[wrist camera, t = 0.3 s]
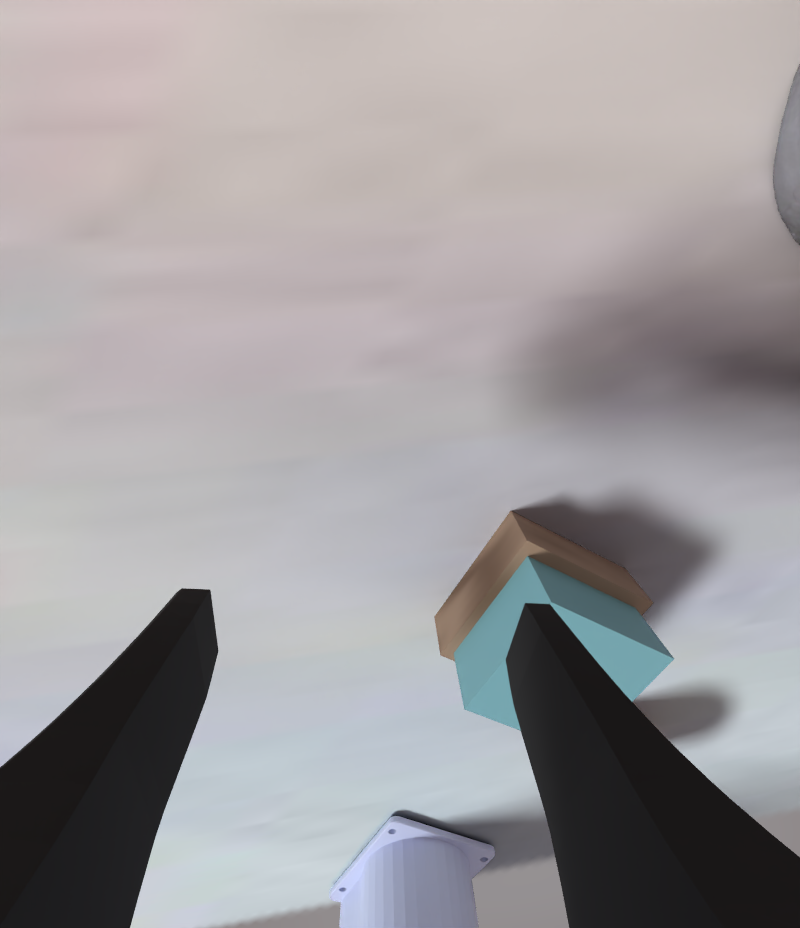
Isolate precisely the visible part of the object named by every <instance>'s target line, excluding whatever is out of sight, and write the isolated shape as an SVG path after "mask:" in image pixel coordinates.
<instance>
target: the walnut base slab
mask: <svg viewBox="0 0 800 928" xmlns="http://www.w3.org/2000/svg"><path fill="white" fill-rule="evenodd" d="M527 556H529V557H531V558H533V559H535V560H537V561H539V562H541V563H543V564H545V565H547V566H549V567H552V568H554V569H556V570H558V571H560V572H562V573H564V574H566V575H568V576H570V577H572V578H574V579H576V580H579V581H581V582H583V583H585V584H587V585H589V586H591V587H593V588H595V589H597V590H599V591H601V592H603V593H605V594H608V595H610V596H612V597H614V598H616V599H618V600H620V601H622V602H624V603H626V604H628V605H630V606H632V607H635V608H636V609H637V611H638V612H639V613H640V614H641V616H642V615H643V614H644V613H645V612H646V611H647V609H648V608H649V607H650V606H651V605H652V604H653V602H652V601H651V599H650V598H649V597H648V596H647V595H646V593H645V592H644V591H643V590H642V589H641V587H640V586H639V585H638V584H637V582H636V581H635V580H634V579H633V578H632V576H631V575H630V574H629V573H628V572H627V570H626V569H625V568H623V567H621V566H619V565H617V564H615V563H613V562H611V561H609V560H607V559H605V558H603V557H601V556H599V555H597V554H595V553H593V552H591V551H589V550H587V549H585V548H583V547H581V546H579V545H577V544H575V543H573V542H571V541H569V540H567V539H565V538H563V537H562V536H560V535H558V534H556V533H554V532H552V531H550V530H548V529H546V528H544V527H542V526H540V525H538V524H536V523H534V522H532V521H530V520H528V519H526V518H524V517H522V516H520V515H518V514H516V513H514V512H512V511H510V513H509V514H508V515H507V517H506V518H505V519H504V521H503V522H502V524H501V525H500V526H499V528H498V529H497V531H496V532H495V533H494V535H493V536H492V538H491V539H490V540H489V542H488V543H487V544H486V546H485V547H484V549H483V550H482V551H481V553H480V554H479V556H478V557H477V558H476V560H475V561H474V563H473V564H472V565H471V567H470V568H469V570H468V571H467V572H466V574H465V575H464V576H463V578H462V579H461V581H460V582H459V583H458V585H457V586H456V588H455V589H454V590H453V592H452V593H451V595H450V596H449V597H448V599H447V600H446V602H445V603H444V604H443V606H442V607H441V608H440V610H439V611H438V613H437V614H436V615H435V623H436V629H437V636H438V642H439V649H440V655H441V656H444V657H446V658H448V659H451V660H453V661H455V658H454V652H455V651H456V649H457V648H458V647H459V645H460V644H461V643H462V642H463V640H464V639H465V638H466V636H467V635H468V634H469V632H470V631H471V630H472V628H473V627H474V626H475V624H476V623H477V622H478V620H479V619H480V618H481V616H482V615H483V614H484V612H485V611H486V610H487V608H488V607H489V606H490V605H491V603H492V602H493V601H494V599H495V598H496V597H497V595H498V594H499V593H500V591H501V590H502V589H503V587H504V586H505V585H506V583H507V582H508V581H509V579H510V578H511V577H512V575H513V574H514V573H515V571H516V570H517V569H518V568H519V566H520V565H521V564H522V562H523V561H524V560H525V558H526V557H527Z"/></svg>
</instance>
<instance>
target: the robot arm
mask: <svg viewBox="0 0 800 928" xmlns="http://www.w3.org/2000/svg"><path fill="white" fill-rule="evenodd" d="M217 654H218V645H217V637H216V630H215V622H214V615H213V607H212V599H211V592H210V590H205V589H181V590H179V591H178V592H177V593H176V594H175V595H174V596H173V597H172V599H171V600H170V601H169V602H168V603H167V604H166V605H165V607H164V608H163V609H162V610H161V611H160V612H159V613H158V615H157V616H156V617H155V618H154V619H153V620H152V621H151V622H150V623H149V625H148V626H147V627H146V628H145V629H144V630H143V631H142V632H141V633H140V634H139V636H138V637H137V638H136V639H135V640H134V641H133V642H132V643H131V644H130V645H129V646H128V647H127V648H126V649H125V650H124V652H123V653H122V654H121V655H120V656H119V657H118V658H117V659H116V660H115V661H114V662H113V663H112V664H111V665H110V666H109V667H108V668H107V669H106V670H105V671H104V672H103V673H102V674H101V675H100V676H99V677H98V678H97V679H96V680H95V681H94V682H93V683H92V684H91V685H90V686H89V687H88V688H87V689H86V690H85V691H84V692H83V693H82V694H81V695H80V696H79V697H78V698H77V699H76V700H75V701H74V702H73V703H72V704H71V705H70V706H68V707H67V708H66V709H65V710H64V711H63V712H62V713H61V714H60V715H59V716H58V717H57V718H56V719H55V720H54V721H53V722H52V723H50V724H49V725H48V726H47V727H46V728H45V729H44V730H43V731H42V732H41V733H39V734H38V735H37V736H36V737H35V738H34V739H33V740H32V741H30V742H29V743H28V744H27V745H26V746H25V747H24V748H22V749H21V750H20V751H19V752H18V753H17V754H15V755H14V756H13V757H12V758H11V759H10V760H8V761H7V762H6V763H5V764H4V765H3V766H1V767H0V928H130V925H131V922H132V918H133V914H134V911H135V907H136V903H137V899H138V896H139V892H140V889H141V885H142V882H143V878H144V875H145V871H146V868H147V864H148V861H149V857H150V854H151V850H152V847H153V843H154V840H155V836H156V833H157V830H158V827H159V824H160V821H161V819H162V816H163V813H164V810H165V807H166V804H167V802H168V799H169V796H170V794H171V791H172V788H173V786H174V783H175V780H176V778H177V775H178V772H179V770H180V767H181V764H182V762H183V759H184V756H185V754H186V751H187V748H188V746H189V743H190V741H191V738H192V735H193V733H194V730H195V727H196V724H197V722H198V719H199V716H200V714H201V711H202V708H203V705H204V703H205V700H206V697H207V693H208V689H209V686H210V682H211V678H212V674H213V670H214V666H215V662H216V658H217ZM506 665H507V671H508V677H509V684H510V689H511V694H512V700H513V705H514V708H515V712H516V715H517V719H518V722H519V726H520V729H521V733H522V736H523V739H524V743H525V746H526V749H527V753H528V756H529V760H530V763H531V766H532V770H533V773H534V776H535V780H536V783H537V786H538V790H539V793H540V797H541V800H542V803H543V807H544V810H545V814H546V818H547V822H548V826H549V829H550V833H551V838H552V843H553V848H554V852H555V857H556V862H557V867H558V872H559V876H560V881H561V886H562V891H563V896H564V901H565V907H566V912H567V918H568V923H569V928H800V857H799V856H797V855H796V854H795V853H794V852H792V851H791V850H790V849H789V848H788V847H786V846H785V845H784V844H783V843H782V842H780V841H779V840H778V839H777V838H775V837H774V836H773V835H772V834H770V833H769V832H768V831H767V830H766V829H765V828H764V827H762V826H761V825H760V824H759V823H758V822H756V821H755V820H754V819H753V818H752V817H751V816H750V815H748V814H747V813H746V812H745V811H744V810H743V809H741V808H740V807H739V806H738V805H737V804H736V803H734V802H733V801H732V800H731V799H730V798H729V797H728V796H727V795H725V794H724V793H723V792H722V791H721V790H720V789H719V788H718V787H717V786H715V785H714V784H713V783H712V782H711V781H710V780H709V779H708V778H707V777H706V776H705V775H704V774H703V773H702V772H700V771H699V770H698V769H697V768H696V767H695V766H694V765H693V764H692V763H691V762H690V761H689V760H688V759H687V758H686V757H685V756H684V755H683V754H682V753H681V752H679V751H678V750H677V749H676V748H675V747H674V746H673V745H672V744H671V743H670V742H669V741H668V740H667V739H666V738H665V737H664V736H663V734H662V733H661V732H660V731H659V730H658V729H657V728H656V727H655V726H654V725H653V724H652V723H651V722H650V721H649V720H648V719H647V718H646V717H645V715H644V714H643V713H642V712H641V711H640V710H639V709H638V708H637V707H636V706H635V705H634V704H633V703H632V701H631V700H630V699H629V698H628V697H627V696H626V695H625V694H624V693H623V691H622V690H621V689H620V688H619V687H618V686H617V684H616V683H615V682H614V681H613V680H612V679H611V677H610V676H609V675H608V674H607V673H606V672H605V671H604V669H603V668H602V667H601V666H600V665H599V663H598V662H597V661H596V660H595V659H594V657H593V656H592V655H591V654H590V653H589V651H588V650H587V649H586V648H585V647H584V645H583V644H582V643H581V642H580V640H579V639H578V638H577V637H576V636H575V634H574V633H573V632H572V631H571V629H570V628H569V627H568V626H567V624H566V623H565V622H564V621H563V620H562V618H561V617H560V616H559V615H558V613H557V612H556V611H555V610H554V609H553V607H552V606H551V605H550V604H538V603H525V604H524V607H523V610H522V613H521V616H520V619H519V622H518V625H517V627H516V630H515V633H514V636H513V639H512V642H511V645H510V648H509V651H508V654H507V657H506ZM494 856H495V850H494V847H493V846H491V845H489V844H485V843H482V842H479V841H476V840H473V839H470V838H466V837H463V836H460V835H457V834H454V833H451V832H447V831H444V830H441V829H438V828H435V827H432V826H428V825H425V824H422V823H419V822H416V821H412V820H409V819H406V818H403V817H400V816H393V817H391V818H390V819H389V820H388V821H387V822H386V823H385V824H384V826H383V827H382V828H381V829H380V830H379V832H378V833H377V834H376V835H375V836H374V838H373V839H372V840H371V841H370V842H369V844H368V845H367V846H366V847H365V848H364V850H363V851H362V852H361V853H360V854H359V855H358V857H357V858H356V859H355V860H354V861H353V863H352V864H351V865H350V866H349V867H348V869H347V870H346V871H345V872H344V873H343V875H342V876H341V877H340V878H339V879H338V881H337V882H336V883H335V884H334V885H333V887H332V888H331V889H330V891H329V898H330V899H331V900H333V901H337V902H341V911H340V928H479V926H478V919H477V913H476V906H475V899H474V892H473V886H472V878H473V877H474V876H475V875H476V874H477V873H478V872H479V871H480V870H481V869H482V868H483V867H484V866H485V865H486V864H487V863H488V862H489V861H490V860H492V859H493V858H494Z"/></svg>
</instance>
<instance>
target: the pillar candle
mask: <svg viewBox="0 0 800 928" xmlns="http://www.w3.org/2000/svg"><path fill="white" fill-rule="evenodd" d="M773 184H774V190H775V199H776V201H777V205H778V211H779V212H780V215H781V217H782V220H783V221H784V223H785V224H786V226H787V228H789V231H790V233H791V235H792V236H793V238H794V239H795V241H796V242H797V243H798V244H799V245H800V65H799V67H798V70H797V72H796V74H795V77H794V80H793V83H792V86H791V89H790V93H789V97H788V101H787V105H786V108H785V112H784V116H783V119H782V123H781V128H780V133H779V139H778V145H777V150H776V156H775V162H774V172H773Z"/></svg>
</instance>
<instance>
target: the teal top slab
mask: <svg viewBox="0 0 800 928" xmlns="http://www.w3.org/2000/svg"><path fill="white" fill-rule="evenodd" d="M525 603H538V604H550V605H551V606H552V607H553V609H554V610H555V611H556V612H557V613H558V615H559V616H560V617H561V618H562V620H563V621H564V622H565V623H566V624H567V626H568V627H569V628H570V629H571V631H572V632H573V633H574V634H575V636H576V637H577V638H578V639H579V640H580V642H581V643H582V644H583V645H584V647H585V648H586V649H587V650H588V651H589V653H590V654H591V655H592V656H593V657H594V659H595V660H596V661H597V662H598V663H599V665H600V666H601V667H602V668H603V669H604V671H605V672H606V673H607V674H608V675H609V676H610V677H611V679H612V680H613V681H614V682H615V683H616V684H617V686H618V687H619V688H620V689H621V690H622V691H623V693H624V694H625V695H626V696H627V697H628V698H629V699H630V700H631V701H633V700H634V699H635V698H636V697H637V696H638V695H639V694H640V693H641V692H642V691H643V690H644V689H645V688H646V687H647V686H648V685H649V684H650V683H651V682H652V681H653V680H654V679H655V678H656V677H657V676H658V675H659V674H660V673H661V672H662V671H663V670H664V669H665V668H666V667H667V666H668V665H669V664H670V663H671V662H672V661H673V660H674V658H673V657H672V655H671V654H670V653H669V651H668V650H667V649H666V647H665V646H664V645H663V643H662V642H661V641H660V640H659V638H658V637H657V636H656V634H655V633H654V632H653V630H652V629H651V628H650V626H649V625H648V624H647V622H646V621H645V620H644V618H643V617H642V616H641V614H640V613H639V612H638V611H637V609H636V608H635V607H632V606H630V605H628V604H626V603H624V602H622V601H620V600H618V599H616V598H614V597H612V596H610V595H608V594H605V593H603V592H601V591H599V590H597V589H595V588H593V587H591V586H589V585H587V584H585V583H583V582H581V581H579V580H576V579H574V578H572V577H570V576H568V575H566V574H564V573H562V572H560V571H558V570H556V569H554V568H552V567H549V566H547V565H545V564H543V563H541V562H539V561H537V560H535V559H533V558H531V557H529V556H527V557H526V558H525V560H524V561H523V562H522V564H521V565H520V566H519V568H518V569H517V570H516V571H515V573H514V574H513V575H512V577H511V578H510V579H509V581H508V582H507V583H506V585H505V586H504V587H503V589H502V590H501V591H500V593H499V594H498V595H497V597H496V598H495V599H494V601H493V602H492V603H491V605H490V606H489V607H488V608H487V610H486V611H485V612H484V614H483V615H482V616H481V618H480V619H479V620H478V622H477V623H476V624H475V626H474V627H473V628H472V630H471V631H470V632H469V634H468V635H467V636H466V638H465V639H464V640H463V642H462V643H461V644H460V645H459V647H458V648H457V649H456V651H455V652H454V658H455V663H456V668H457V674H458V679H459V684H460V689H461V694H462V699H463V705H464V709H465V710H468V711H471V712H473V713H476V714H478V715H481V716H484V717H486V718H489V719H492V720H494V721H497V722H499V723H502V724H505V725H507V726H510V727H512V728H515V729H518V730H520V731H521V729H520V726H519V722H518V719H517V715H516V712H515V708H514V705H513V700H512V694H511V689H510V684H509V677H508V671H507V665H506V657H507V654H508V651H509V648H510V645H511V642H512V639H513V636H514V633H515V630H516V627H517V625H518V622H519V619H520V616H521V613H522V610H523V607H524V604H525Z"/></svg>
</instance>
